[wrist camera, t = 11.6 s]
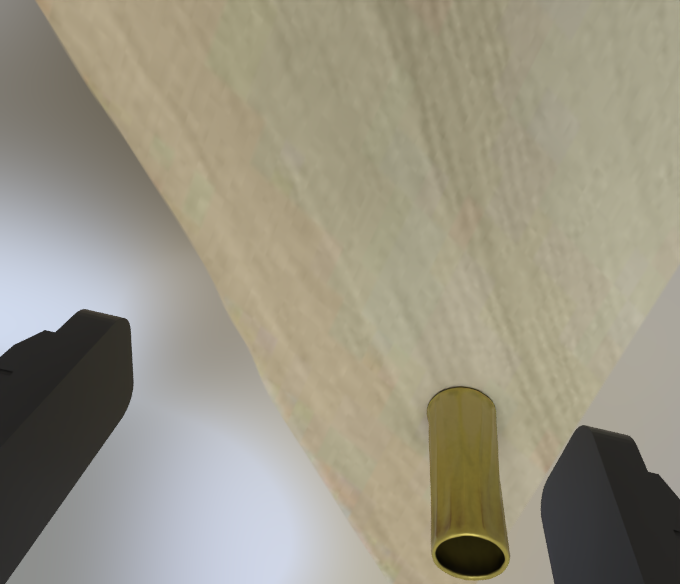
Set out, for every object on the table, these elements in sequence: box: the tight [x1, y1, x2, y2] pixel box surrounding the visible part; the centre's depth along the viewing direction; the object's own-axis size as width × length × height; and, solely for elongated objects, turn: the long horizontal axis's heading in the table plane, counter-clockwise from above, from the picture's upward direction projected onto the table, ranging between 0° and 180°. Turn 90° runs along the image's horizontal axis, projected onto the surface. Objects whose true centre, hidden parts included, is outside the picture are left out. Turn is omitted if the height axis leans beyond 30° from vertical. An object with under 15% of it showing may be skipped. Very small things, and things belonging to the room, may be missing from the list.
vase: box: [427, 387, 510, 580], centre depth 42 cm, size 6×6×14 cm
